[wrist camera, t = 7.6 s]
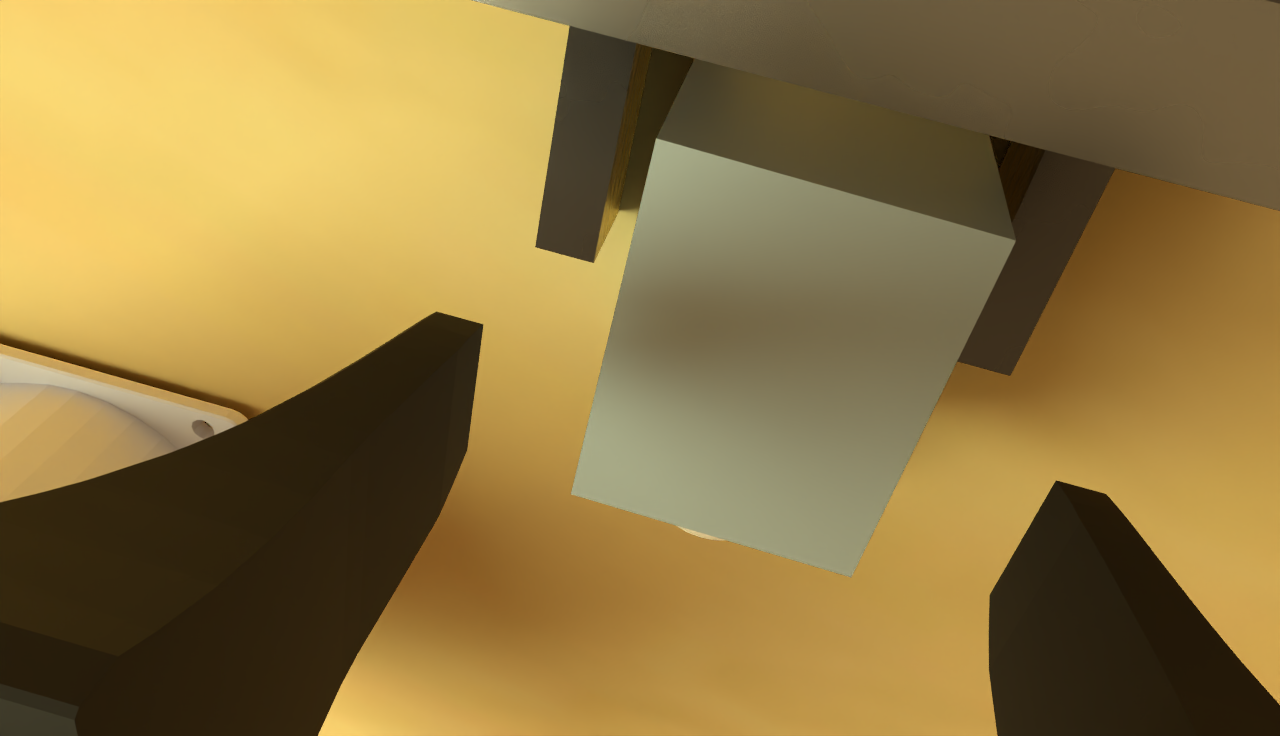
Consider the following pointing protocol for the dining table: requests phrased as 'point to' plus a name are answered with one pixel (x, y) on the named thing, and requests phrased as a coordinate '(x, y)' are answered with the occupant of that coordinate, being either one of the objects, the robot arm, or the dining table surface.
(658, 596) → the dining table surface
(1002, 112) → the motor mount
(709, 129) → the grey block
